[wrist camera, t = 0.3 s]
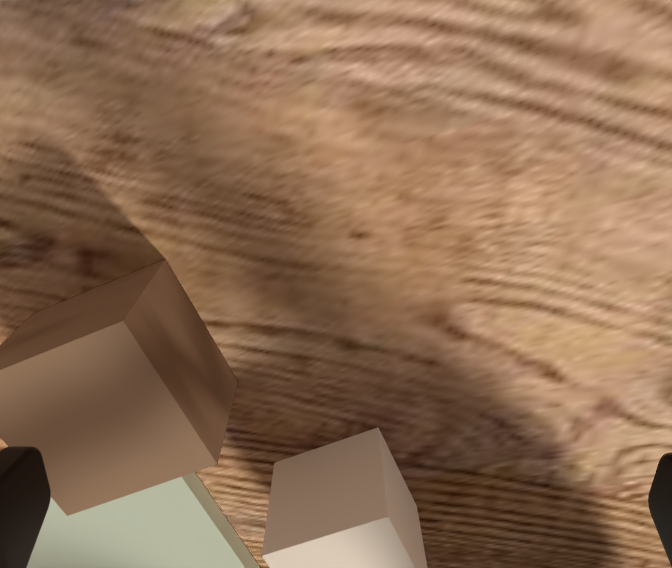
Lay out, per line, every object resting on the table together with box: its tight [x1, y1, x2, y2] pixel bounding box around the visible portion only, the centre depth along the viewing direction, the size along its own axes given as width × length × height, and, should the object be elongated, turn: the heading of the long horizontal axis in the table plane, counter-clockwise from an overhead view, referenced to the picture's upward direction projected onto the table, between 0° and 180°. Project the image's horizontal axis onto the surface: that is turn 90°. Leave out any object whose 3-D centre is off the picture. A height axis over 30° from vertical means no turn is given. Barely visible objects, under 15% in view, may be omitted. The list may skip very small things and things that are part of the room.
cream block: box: [262, 428, 427, 568], centre depth 24 cm, size 5×5×5 cm
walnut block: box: [0, 259, 238, 516], centre depth 21 cm, size 6×6×5 cm
